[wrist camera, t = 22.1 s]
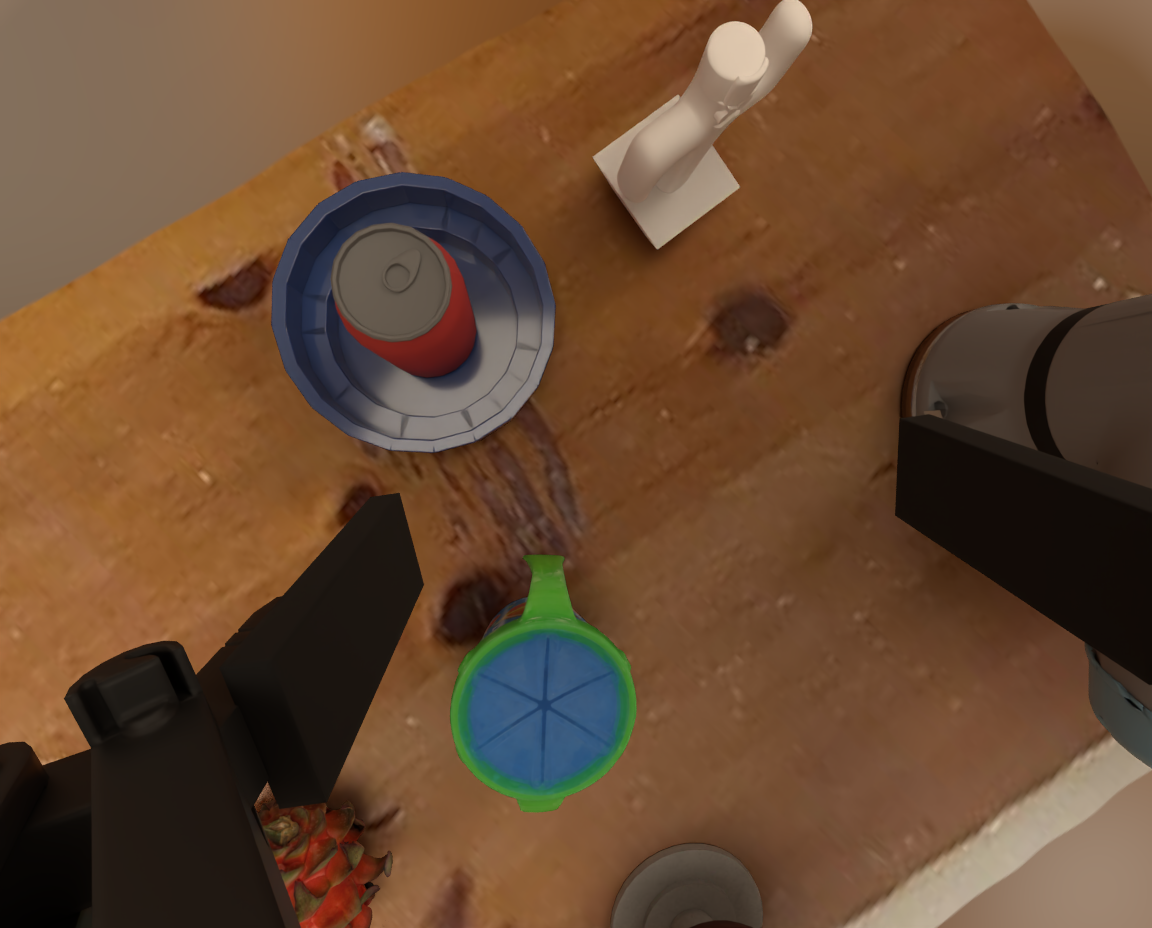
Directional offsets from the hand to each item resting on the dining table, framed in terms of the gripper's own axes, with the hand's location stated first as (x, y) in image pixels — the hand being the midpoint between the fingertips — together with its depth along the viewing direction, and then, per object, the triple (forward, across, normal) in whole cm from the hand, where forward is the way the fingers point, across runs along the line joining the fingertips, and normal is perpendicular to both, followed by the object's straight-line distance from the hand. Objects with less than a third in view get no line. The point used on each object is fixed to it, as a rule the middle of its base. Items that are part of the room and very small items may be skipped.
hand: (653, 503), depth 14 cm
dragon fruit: (+16, -24, -29) cm, 41 cm away
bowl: (+26, -11, +4) cm, 29 cm away
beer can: (+26, -11, +4) cm, 28 cm away
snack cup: (+21, -7, -19) cm, 29 cm away
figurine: (+30, +6, +11) cm, 33 cm away
